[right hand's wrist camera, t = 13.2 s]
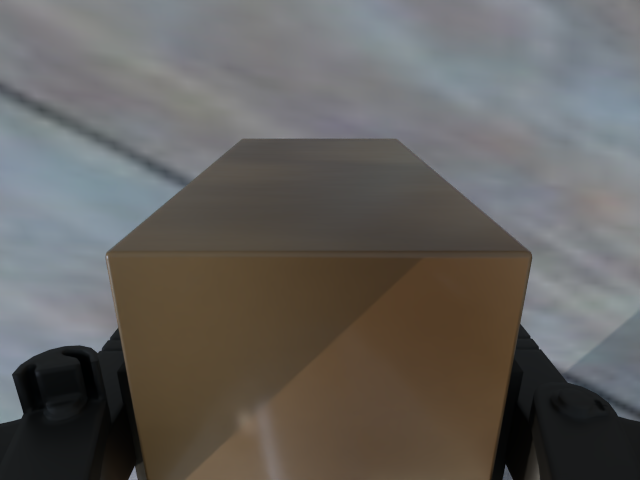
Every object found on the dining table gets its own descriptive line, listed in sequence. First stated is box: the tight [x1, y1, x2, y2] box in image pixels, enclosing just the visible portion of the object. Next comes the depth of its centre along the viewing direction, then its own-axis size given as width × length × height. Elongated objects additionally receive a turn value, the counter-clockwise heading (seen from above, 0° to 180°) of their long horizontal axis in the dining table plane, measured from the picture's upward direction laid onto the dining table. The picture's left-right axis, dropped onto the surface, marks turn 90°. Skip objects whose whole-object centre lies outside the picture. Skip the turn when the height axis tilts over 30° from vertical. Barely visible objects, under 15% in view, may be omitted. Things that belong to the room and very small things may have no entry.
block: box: [106, 139, 532, 480], centre depth 12 cm, size 6×8×11 cm
